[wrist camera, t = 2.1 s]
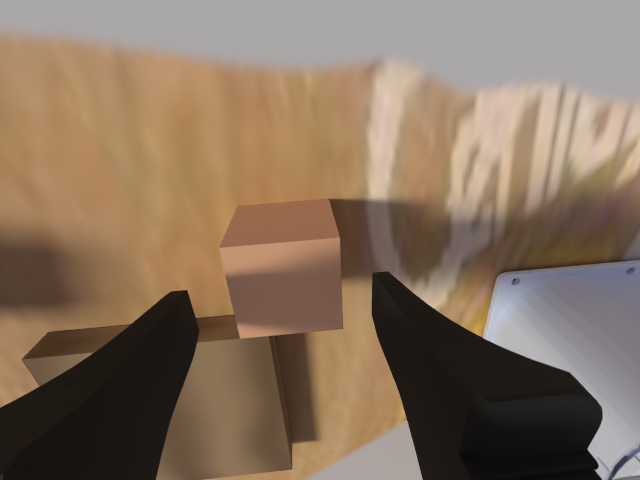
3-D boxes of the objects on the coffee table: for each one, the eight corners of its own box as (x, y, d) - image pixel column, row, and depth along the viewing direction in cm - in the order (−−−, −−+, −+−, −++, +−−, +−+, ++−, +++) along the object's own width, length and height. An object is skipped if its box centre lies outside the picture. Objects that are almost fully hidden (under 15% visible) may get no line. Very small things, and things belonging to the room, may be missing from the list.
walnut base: (270, 311, 19) (268, 335, 17) (292, 441, 25) (292, 469, 23) (47, 332, 18) (21, 359, 17) (123, 460, 24) (110, 490, 23)
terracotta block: (328, 198, 16) (339, 237, 12) (332, 273, 18) (343, 328, 14) (237, 205, 16) (218, 247, 12) (252, 281, 18) (240, 338, 14)
